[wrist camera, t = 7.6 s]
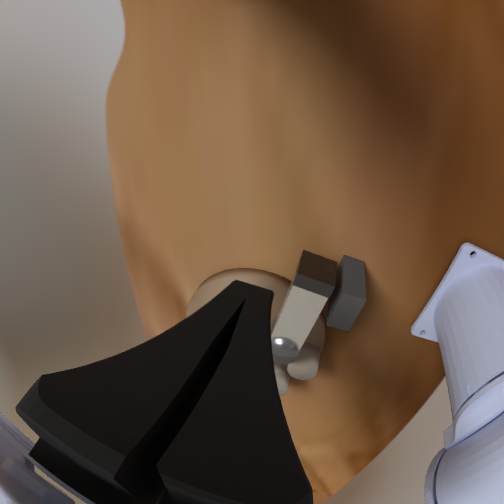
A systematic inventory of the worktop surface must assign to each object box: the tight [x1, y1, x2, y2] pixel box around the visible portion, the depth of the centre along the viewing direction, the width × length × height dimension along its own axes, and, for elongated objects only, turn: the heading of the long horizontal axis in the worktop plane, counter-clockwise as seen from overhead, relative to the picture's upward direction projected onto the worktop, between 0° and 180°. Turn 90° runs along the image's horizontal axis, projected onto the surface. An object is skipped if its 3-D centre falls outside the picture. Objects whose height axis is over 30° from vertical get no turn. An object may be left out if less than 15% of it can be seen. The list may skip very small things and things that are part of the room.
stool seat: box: [186, 268, 326, 396], centre depth 22 cm, size 11×11×3 cm
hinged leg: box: [271, 250, 337, 364], centre depth 18 cm, size 7×2×3 cm, turn 166°
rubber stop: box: [326, 255, 367, 332], centre depth 17 cm, size 1×2×4 cm, turn 168°
